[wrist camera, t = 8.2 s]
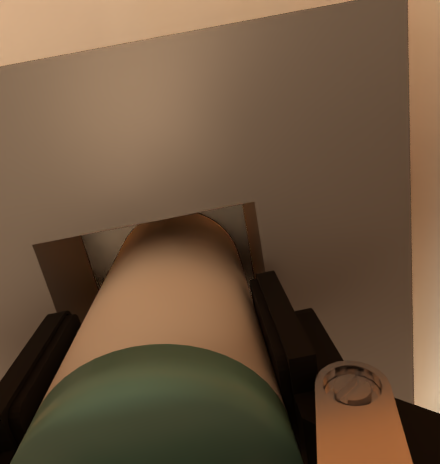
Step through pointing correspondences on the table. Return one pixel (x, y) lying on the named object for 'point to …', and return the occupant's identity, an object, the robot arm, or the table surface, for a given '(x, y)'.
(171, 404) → the filter cartridge
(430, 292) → the table surface
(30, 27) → the table surface
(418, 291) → the table surface
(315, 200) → the housing
